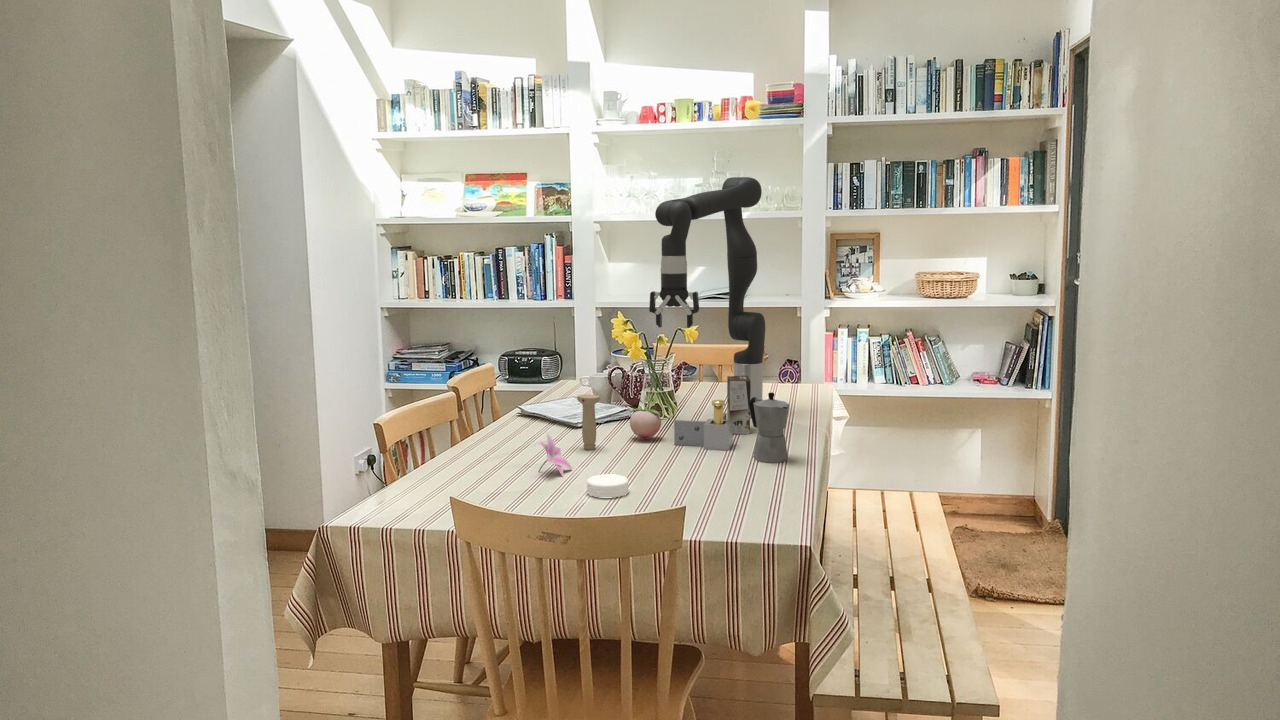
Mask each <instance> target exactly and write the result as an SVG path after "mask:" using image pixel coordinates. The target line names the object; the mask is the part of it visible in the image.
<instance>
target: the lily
mask: <svg viewBox="0 0 1280 720" xmlns="http://www.w3.org/2000/svg"><path fill="white" fill-rule="evenodd" d="M545 434H546V442H547V443H545V442H543V441H540V440H538V441H537V442H538V444H540V446H541V447H542V449H544V450H545V452H546V457H547V458H546V460H545V461H544V462H543V463H542V464H541V466H540V467H539V469H538V471H537V473H538V472H539V473H540V471H541V470H542V468H543V467H544V465H545V464H546V463H549V464H551V465H555V466H556V468H557V470H558V471H559V473H560V475H561V477H562V476H563V477H564V470H563V467H564V468H566V469H569V470H571V471H574V469H573V467H572V465H571V464H570V462H569V461H568V460H567V459H566V458H565V456H563V451H562V449H561V448H560V447H559V446H556V443H555V442H554V439H553V438H552V436H551V435H550V433H549V432H547V431H545Z"/></svg>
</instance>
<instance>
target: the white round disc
mask: <svg viewBox="0 0 1280 720" xmlns="http://www.w3.org/2000/svg"><path fill="white" fill-rule="evenodd" d="M629 485H630V484H629V479H628V478H627V477H626V476H624V475H621V474H615V473H614V474H613V473H611V474H610V473H609V474H608V473H606V474H596V475H593V476H591V477H588V478H587V480H586V494H587V493H588V494H589V495H592V496H596V497H617V496H622V495H625V494H627V493H628V494H629V491H630V490H629V487H630V486H629ZM588 494H587V495H588ZM628 494H627V495H628ZM589 495H588V496H589ZM625 496H626V495H625Z"/></svg>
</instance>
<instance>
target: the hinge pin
mask: <svg viewBox="0 0 1280 720" xmlns="http://www.w3.org/2000/svg"><path fill="white" fill-rule="evenodd" d="M711 405H712V406H713V419H714V424H723V413H724V406H725V405H726V401H725V400H723V399H714V400H712V401H711Z"/></svg>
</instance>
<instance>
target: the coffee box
mask: <svg viewBox="0 0 1280 720" xmlns="http://www.w3.org/2000/svg"><path fill="white" fill-rule="evenodd" d="M726 379H727V381H726V383H727V385H726V386H727V387H726V389H727V391H726V395H727V396H726V397H727V399H726V404H727V406H726V407H727V408H726V413H727V420H733V435H750V433H751V418H750V409H749V401H750V387H751V381H750V379H749V377H748V376H734V375H733V376H732V375H728V376H726Z"/></svg>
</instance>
